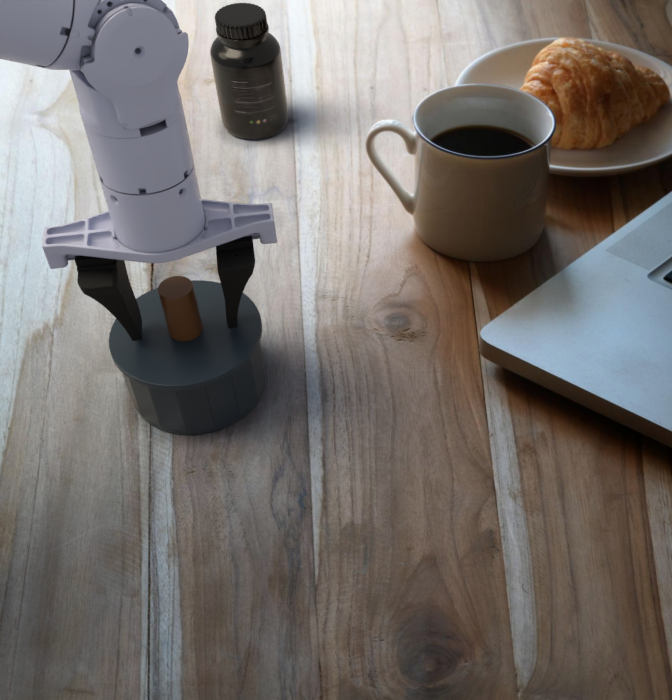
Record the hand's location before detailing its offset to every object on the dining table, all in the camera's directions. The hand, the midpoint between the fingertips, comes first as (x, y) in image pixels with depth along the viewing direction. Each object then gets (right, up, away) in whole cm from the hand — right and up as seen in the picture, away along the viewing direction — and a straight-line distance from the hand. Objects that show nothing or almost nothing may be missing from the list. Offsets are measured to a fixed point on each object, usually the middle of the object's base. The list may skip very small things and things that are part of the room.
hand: (185, 324), depth 67 cm
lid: (0, -1, +1) cm, 1 cm away
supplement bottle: (-1, +22, +30) cm, 37 cm away
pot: (0, -4, +5) cm, 6 cm away
